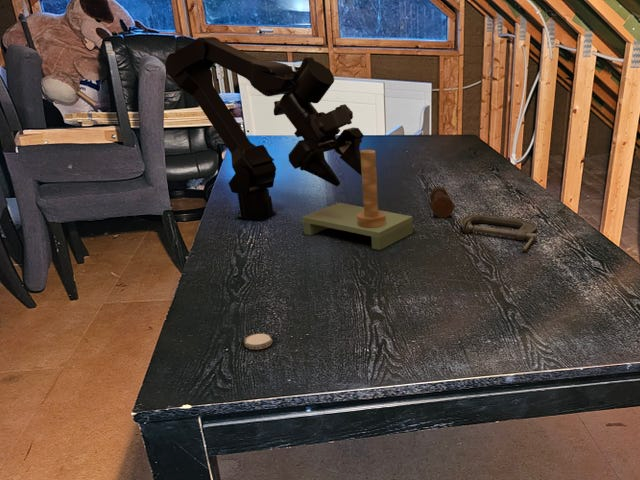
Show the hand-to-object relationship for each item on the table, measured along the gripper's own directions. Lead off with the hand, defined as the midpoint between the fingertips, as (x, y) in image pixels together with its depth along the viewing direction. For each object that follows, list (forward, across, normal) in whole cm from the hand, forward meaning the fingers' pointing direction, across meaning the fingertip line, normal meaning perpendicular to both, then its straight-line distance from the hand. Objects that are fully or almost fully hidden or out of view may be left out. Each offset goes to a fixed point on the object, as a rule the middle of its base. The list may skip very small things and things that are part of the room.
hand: (352, 180), depth 136 cm
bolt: (+12, +28, +5) cm, 31 cm away
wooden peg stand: (+9, 0, +3) cm, 10 cm away
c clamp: (+27, +19, -9) cm, 34 cm away
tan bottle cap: (+24, -47, -7) cm, 53 cm away
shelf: (+8, +2, +10) cm, 13 cm away
